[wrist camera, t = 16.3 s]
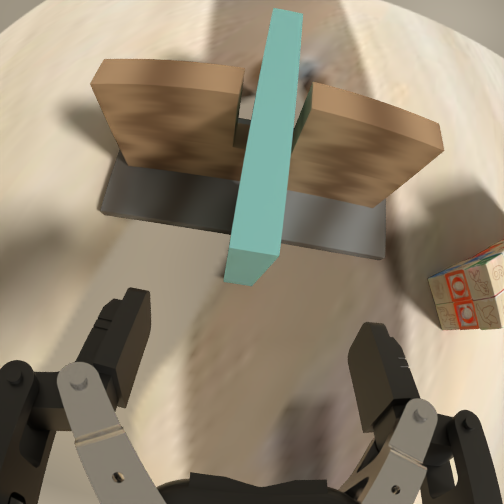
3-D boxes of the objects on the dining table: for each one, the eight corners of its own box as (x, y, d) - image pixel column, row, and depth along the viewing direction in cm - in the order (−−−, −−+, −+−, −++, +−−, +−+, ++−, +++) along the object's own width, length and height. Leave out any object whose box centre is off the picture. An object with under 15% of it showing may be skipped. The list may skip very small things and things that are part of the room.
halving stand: (104, 214, 28) (42, 144, 15) (138, 113, 31) (112, 21, 18) (379, 260, 30) (467, 219, 17) (379, 156, 33) (442, 86, 20)
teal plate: (251, 286, 27) (279, 255, 15) (223, 281, 27) (229, 247, 15) (277, 99, 32) (302, 14, 20) (255, 95, 31) (273, 7, 20)
